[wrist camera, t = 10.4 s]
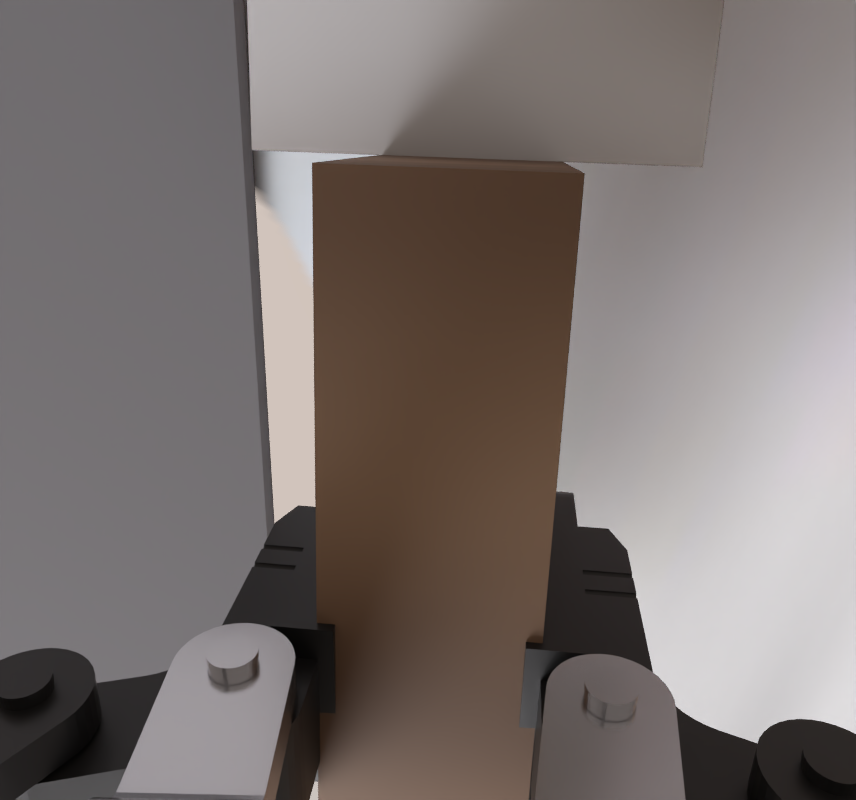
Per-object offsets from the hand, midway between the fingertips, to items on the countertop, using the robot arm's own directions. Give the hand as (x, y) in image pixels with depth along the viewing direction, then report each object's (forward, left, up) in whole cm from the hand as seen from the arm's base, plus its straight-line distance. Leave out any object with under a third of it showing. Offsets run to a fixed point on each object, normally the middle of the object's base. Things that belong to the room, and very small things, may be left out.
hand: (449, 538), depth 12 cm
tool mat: (+3, -10, -6) cm, 12 cm away
